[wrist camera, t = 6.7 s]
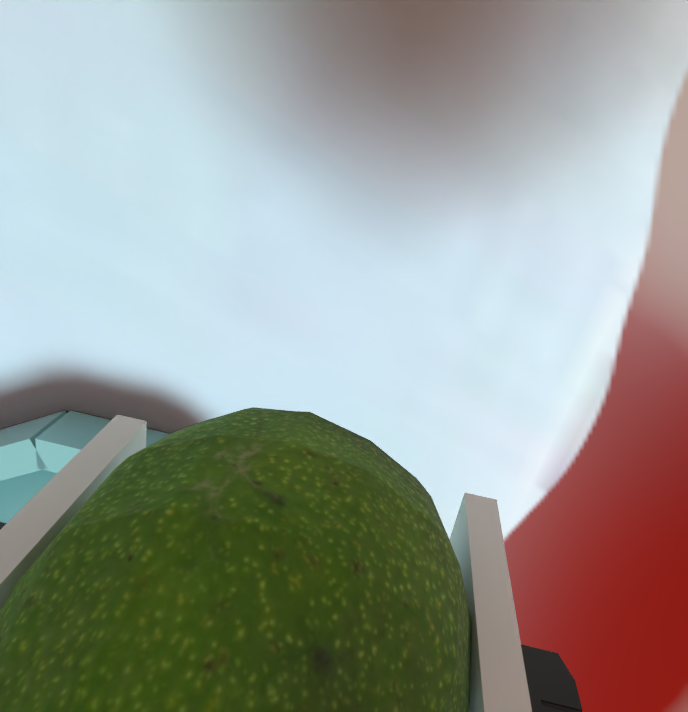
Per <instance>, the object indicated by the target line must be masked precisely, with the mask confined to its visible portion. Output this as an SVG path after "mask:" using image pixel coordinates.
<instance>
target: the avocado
mask: <svg viewBox="0 0 688 712" xmlns="http://www.w3.org/2000/svg"><path fill="white" fill-rule="evenodd" d="M471 641H472V635H471V615H470V610H469V605H468V600H467V596H466V591H465V586H464V582H463V577H462V572H461V568H460V564H459V562H458V559H457V557H456V555H455V552H454V550H453V547H452V545H451V543H450V540H449V538H448V536H447V533H446V531H445V528H444V526H443V524H442V521H441V519H440V517H439V514H438V512H437V510H436V507H435V505H434V502H433V500H432V498H431V496H430V495H429V493H428V492H427V491H426V489H425V488H424V487H423V486H422V485H421V483H420V482H419V481H418V480H417V478H415V477H414V476H413V475H412V474H410V473H409V472H408V471H407V470H406V469H404V468H403V467H402V466H401V465H400V464H398V463H397V462H396V461H395V460H393V459H392V458H391V457H390V456H389V455H387V454H386V453H385V452H384V451H382V450H381V449H380V448H379V447H378V446H376V445H375V444H374V443H373V442H371V441H370V440H368V439H366V438H364V437H362V436H359V435H357V434H355V433H353V432H351V431H349V430H347V429H345V428H342V427H340V426H338V425H336V424H334V423H332V422H330V421H328V420H326V419H323V418H321V417H319V416H317V415H315V414H313V413H311V412H295V411H284V410H274V409H263V408H249V409H244V410H240V411H237V412H234V413H230V414H227V415H224V416H220V417H217V418H213V419H210V420H207V421H203V422H200V423H197V424H193V425H191V426H188V427H186V428H183V429H180V430H178V431H175V432H173V433H171V434H169V435H168V436H166V437H164V438H162V439H160V440H158V441H157V442H155V443H153V444H151V445H149V446H147V447H146V448H144V449H142V450H140V451H138V452H136V453H135V454H133V455H131V456H129V457H128V458H127V459H125V460H124V461H123V462H122V463H121V464H120V465H119V466H118V467H116V468H115V469H114V470H113V471H112V472H111V473H110V475H109V476H108V477H107V478H106V479H105V480H104V482H103V483H102V484H101V485H100V486H99V487H98V489H97V490H96V491H95V492H94V493H93V494H92V496H91V497H90V498H89V499H88V500H87V501H86V502H85V504H84V505H83V506H82V507H81V508H80V509H79V511H78V512H77V513H76V514H75V515H74V516H73V518H72V519H71V520H70V521H69V522H68V523H67V525H66V526H65V527H64V528H63V529H62V530H61V532H60V533H59V534H58V535H57V536H56V537H55V538H54V540H53V541H52V542H51V543H50V544H49V545H48V547H47V548H46V549H45V550H44V551H43V552H42V554H41V555H40V556H39V557H38V558H37V559H36V561H35V562H34V563H33V564H32V565H31V566H30V568H29V569H28V570H27V571H26V572H25V573H24V575H23V576H22V577H21V578H20V579H19V580H18V581H17V583H16V584H15V585H14V586H13V588H12V590H11V592H10V594H9V596H8V598H7V600H6V602H5V603H4V605H3V607H2V609H1V611H0V712H469V711H470V676H471Z"/></svg>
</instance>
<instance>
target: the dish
mask: <svg viewBox="0 0 688 712" xmlns="http://www.w3.org/2000/svg"><path fill="white" fill-rule="evenodd" d="M110 421H111V420H109V419H105V418H101V417H96V416H92V415H88V414H84V413H79V412H75V411H71V410H70V411H69V412H68V413H66V411H61V412H58V413H55V414H51V415H48V416H45V417H41V418H38V419H34V420H31V421H28V422H24V423H21V424H18V425H14V426H11V427H7V428H4V429H1V430H0V522H3V523H8V522H9V521H10V520H11V519H12V518H13V517H14V516H15V515H16V514H17V513H18V512H19V511H20V510H21V509H22V508H23V507H24V506H25V505H26V504H27V503H28V502H29V501H30V500H31V499H32V498H33V497H34V496H35V495H36V494H37V493H38V492H39V491H40V490H41V489H42V488H43V487H44V486H45V485H46V484H47V483H48V482H49V481H50V480H51V479H52V478H53V477H54V476H55V475H56V474H57V473H58V472H59V471H60V470H61V469H62V468H63V467H64V466H65V465H66V464H67V463H68V462H69V461H70V460H71V459H72V458H74V457H75V456H76V455H77V454H78V453H79V452H80V451H81V450H82V449H83V448H84V447H85V446H86V445H87V444H88V443H89V442H90V441H91V440H92V439H93V438H94V437H95V436H96V435H97V434H98V433H99V432H100V431H101V430H102V429H103V428H104V427H105V426H106V425H107V424H108V423H109V422H110ZM168 435H169V434H168V433H164V432H160V431H156V430H151V429H146V447H147V446H149V445H151V444H153V443H155V442H157V441H158V440H160V439H162V438H164V437H166V436H168Z"/></svg>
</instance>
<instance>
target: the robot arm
mask: <svg viewBox="0 0 688 712" xmlns="http://www.w3.org/2000/svg"><path fill="white" fill-rule="evenodd" d="M146 429H147V421H144V420H140V419H135V418H131V417H126V416H122V415H116V416H115V417H114V418H113V419H112V420H111V421H110V422H109V423H108V424H107V425H106V426H105V427H104V428H103V429H102V430H101V431H100V432H99V433H98V434H97V435H96V436H95V437H94V438H93V439H92V440H91V441H90V442H89V443H88V444H87V445H86V446H85V447H84V448H83V449H82V450H81V451H80V452H79V453H78V454H77V455H76V456H75V457H74V458H72V459H71V460H70V461H69V462H68V463H67V464H66V465H65V466H64V467H63V468H62V469H61V470H60V471H59V472H58V473H57V474H56V475H55V476H54V477H53V478H52V479H51V480H50V481H49V482H48V483H47V484H46V485H45V486H44V487H43V488H42V489H41V490H40V491H39V492H38V493H37V494H36V495H35V496H34V497H33V498H32V499H31V500H30V501H29V502H28V503H27V504H26V505H25V506H24V507H23V508H22V509H21V510H20V511H19V512H18V513H17V514H16V515H15V516H14V517H13V518H12V519H11V520H10V521H9V522H8V523H3V522H0V611H1V609H2V607H3V605H4V603H5V602H6V600H7V598H8V596H9V594H10V592H11V590H12V588H13V586H14V585H15V584H16V583H17V581H18V580H19V579H20V578H21V577H22V576H23V575H24V573H25V572H26V571H27V570H28V569H29V568H30V566H31V565H32V564H33V563H34V562H35V561H36V559H37V558H38V557H39V556H40V555H41V554H42V552H43V551H44V550H45V549H46V548H47V547H48V545H49V544H50V543H51V542H52V541H53V540H54V538H55V537H56V536H57V535H58V534H59V533H60V532H61V530H62V529H63V528H64V527H65V526H66V525H67V523H68V522H69V521H70V520H71V519H72V518H73V516H74V515H75V514H76V513H77V512H78V511H79V509H80V508H81V507H82V506H83V505H84V504H85V502H86V501H87V500H88V499H89V498H90V497H91V496H92V494H93V493H94V492H95V491H96V490H97V489H98V487H99V486H100V485H101V484H102V483H103V482H104V480H105V479H106V478H107V477H108V476H109V475H110V473H111V472H112V471H113V470H114V469H115V468H116V467H118V466H119V465H120V464H121V463H122V462H123V461H124V460H125V459H127V458H128V457H129V456H131V455H133V454H135V453H136V452H138V451H140V450H142V449H144V448H146ZM450 543H451V545H452V547H453V550H454V552H455V555H456V557H457V559H458V562H459V564H460V568H461V572H462V577H463V582H464V586H465V591H466V596H467V600H468V605H469V610H470V615H471V635H472V641H471V676H470V711H469V712H582V707H581V703H580V699H579V695H578V691H577V687H576V683H575V680H574V679H573V677H572V675H571V674H570V672H569V670H568V669H567V667H566V666H565V664H564V662H563V661H562V659H561V658H560V656H559V654H558V653H554V652H550V651H546V650H541V649H537V648H533V647H529V646H525V645H521V642H520V637H519V631H518V625H517V619H516V613H515V607H514V601H513V595H512V589H511V583H510V577H509V571H508V565H507V559H506V554H505V547H504V541H503V535H502V530H501V524H500V518H499V512H498V506H497V500H495V499H491V498H486V497H482V496H477V495H473V494H468V493H465V494H464V497H463V500H462V503H461V506H460V509H459V512H458V515H457V518H456V521H455V525H454V528H453V531H452V534H451V537H450Z"/></svg>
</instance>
